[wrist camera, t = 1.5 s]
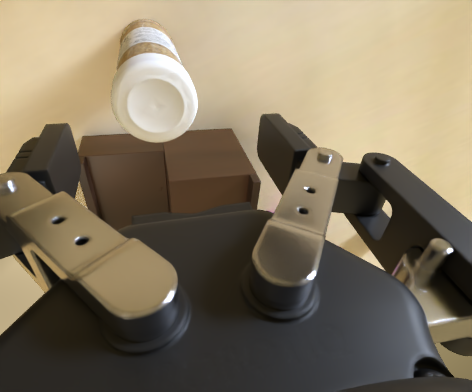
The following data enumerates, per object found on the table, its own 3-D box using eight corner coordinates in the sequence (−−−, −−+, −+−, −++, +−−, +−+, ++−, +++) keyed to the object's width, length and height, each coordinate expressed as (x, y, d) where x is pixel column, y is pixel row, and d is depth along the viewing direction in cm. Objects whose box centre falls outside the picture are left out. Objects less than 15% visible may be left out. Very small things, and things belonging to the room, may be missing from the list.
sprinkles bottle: (156, 84, 28) (168, 158, 18) (109, 52, 26) (93, 117, 16) (184, 42, 27) (215, 97, 17) (137, 3, 24) (140, 40, 14)
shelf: (82, 135, 29) (63, 200, 22) (231, 128, 33) (261, 181, 25) (109, 237, 38) (102, 309, 30) (225, 222, 42) (246, 283, 34)
